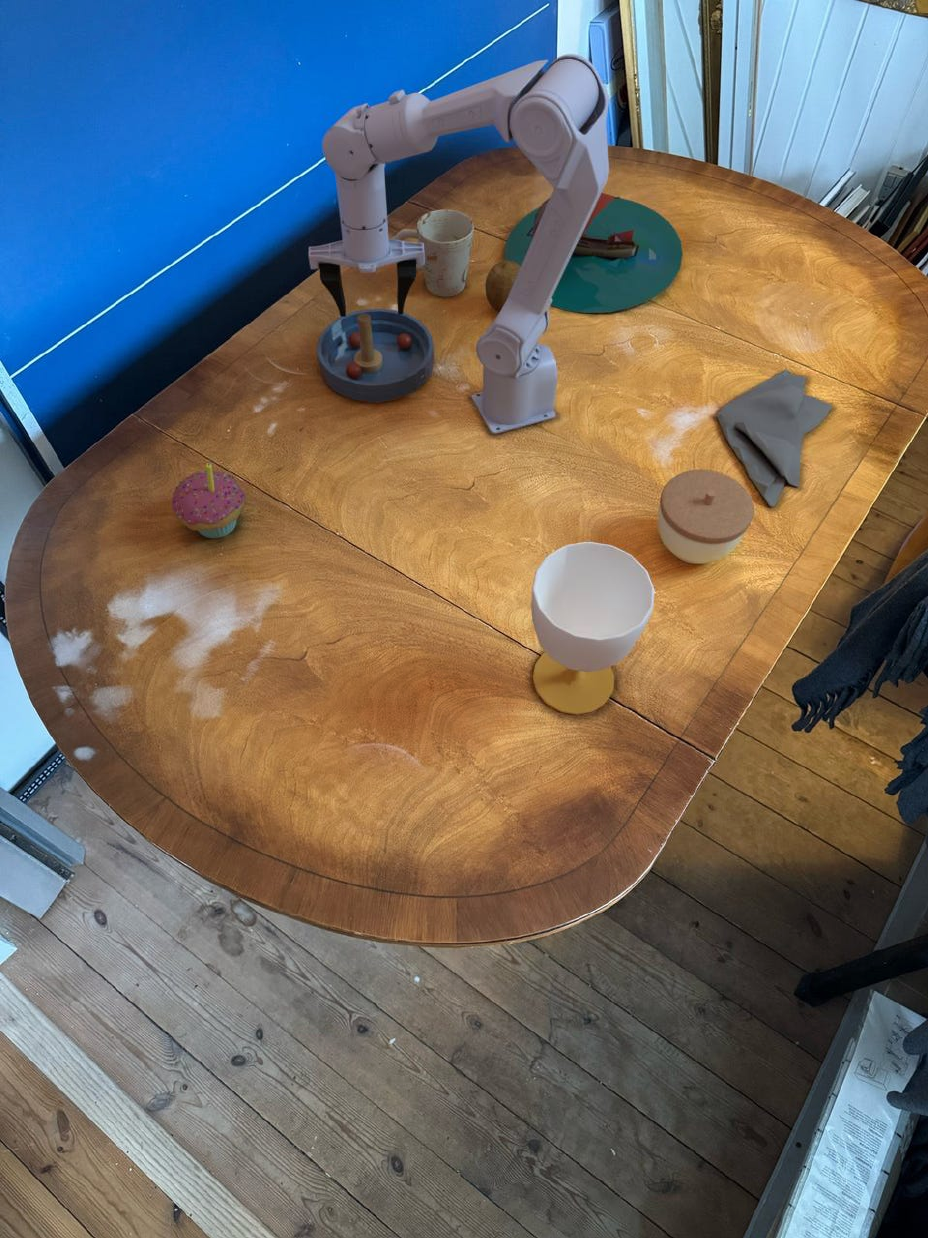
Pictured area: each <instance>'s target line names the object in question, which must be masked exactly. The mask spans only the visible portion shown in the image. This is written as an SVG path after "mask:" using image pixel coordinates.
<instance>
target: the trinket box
mask: <svg viewBox="0 0 928 1238" xmlns="http://www.w3.org/2000/svg"><path fill="white" fill-rule="evenodd" d="M659 500H660V501H659V506H658V510H657V529H658V534H659V536H660V539H661V542H662V543H663V545H664V546H665V548H666V549H667V550H668V551H669V552H670V553H671V554H672V555H674V556H675V557H676V558H677V559H679V560H680V561H683V562H684V563H688V564H692V565H693V564H694V565H700V564H711V563H714V562H718V561H719V560H722V559H724V558H725V557H726V556H728V555H729V554H731V553H732V552H733V551H734V550H735V549H736V548H737V547H738V546H739V544H740V543H741V541H742V540H743V538H744V536H745V534H746V532H747V530H748V529H749V527H750V525H751V524H752V522H753V519H754V517H755V505H754V501H753V498H752V496H751V495H750V493H749V492H748V490H747V489H746V488H745V486H743V484H741V483H740V482H739V481H738V480H737V479H734V478H733V477H731V476H730V475H727V474H725V473H724V472H723V473H722V472H720V471H716V470H712V469H703V468H702V469H700V468H699V469H691V470H686V471H683V472H680V473H678V474H676V475H674V476H673V477H671V478H670V480H668V481H667V483H666V484H665V485H664V487H663V489H662V491H661V495H660V499H659Z"/></svg>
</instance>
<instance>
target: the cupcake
mask: <svg viewBox="0 0 928 1238" xmlns="http://www.w3.org/2000/svg"><path fill="white" fill-rule="evenodd" d="M210 461H211V460H209V459H208V461H207V463H206V464H205V470H202V471H196V472H192V474H191V475H189V476H187V477H185V478H183V479H182V480H181V481H180V482H179V483H178V485H177V486H176V487H175V488H174V490H173V493H172V497H171V512H172V515H174V517H175V518H176V519H177V520H178V522H180V523H181V524H182V525H184V527H187V528H188V529H190V530H191V531H198V533H199V534H201V535H202V536H204V537H205V538H209V539H220V538H223V537H226V536H227V535H229V534H230V533H232V532H233V531H234V530H235V528H236V525H237V519H238V518H239V516H240V514H241V512H242V510H243V508H244V505H245V497H246V496H245V491H244V489H243V488H242V487H241V486H240V484H239V483H238V481H237V480H236V479H235V478H234V476H231V474H228V473H226V472H225V471H217V470H213V467H212V463H211V462H210Z"/></svg>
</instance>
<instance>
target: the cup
mask: <svg viewBox="0 0 928 1238" xmlns="http://www.w3.org/2000/svg"><path fill="white" fill-rule="evenodd" d="M655 591H656V589H655V587H654V584H653V581H652V580H651V577H650V574H649V572H648V570H647V569H646V568H645V567H644V566H643V565H642V564H641V563H640V562H639V561H638V559H636V558H635V557H634V556H633V555H632V554H630V553H629V552H627V551H624V550H622V549H620V548H618V547H616V546H615V545H612V544H607V543H601V542H594V541H582V542H578V543H571V544H565V545H563V546H561V547H559V548H558V549H556V550H554V551H552V552H551V553H549V554H547V555H546V556H545V558H544V559H543V560H542V562H541V563H540V564H539V566H537V568H536V569H535V572H534V576H533V582H532V587H531V599H530V601H531V602H530V609H531V621H532V625H533V628H534V631H535V634H536V637H537V640H538V641H537V642H538V643H539V646H540V647H541V649H542V650H543V651H544V652H542V653H541V655H540V657H539V658H538V659H537V661H536V662H535V663H534V668H533V674H532V682H533V684H534V688H535V691H536V693H537V695H538V696H539V697H540V698H541V699H542V700H543V702H544V703H545V705H547V706H549V707H551V708H552V709H554V710H555V711H558V712H560V713H562V714H563V713H564V714H570V715H583V714H588V713H594V712H595V711H596V710H598V709H599V708H601V707H602V706H604V705H605V704H606V703H607V702H608V700H609V698H610V697H611V695H612V694H613V691H614V686H615V685H614V684H615V675H614V673H613V669H612V667H614V666H615V665H616V664H618V663H620V662H621V661H622V660H624V659H625V658H626V657H627V656H628V655H629V654H630V653H631V651H632V650H633V648H634V646H635V645H636V643H637V642H638V640H639V638H640V637H641V635H642V633H643V631H644V630H645V628H646V627H647V625H648V623H649V621H650V618H651V616H652V613H653V611H654V603H655Z"/></svg>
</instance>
